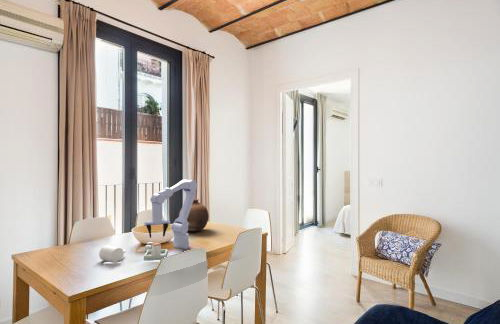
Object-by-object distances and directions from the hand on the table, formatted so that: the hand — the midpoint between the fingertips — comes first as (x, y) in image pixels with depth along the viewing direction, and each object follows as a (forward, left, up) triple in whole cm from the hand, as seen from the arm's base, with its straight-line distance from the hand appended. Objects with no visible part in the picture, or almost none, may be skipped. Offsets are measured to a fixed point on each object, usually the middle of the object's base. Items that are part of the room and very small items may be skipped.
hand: (157, 236), depth 176 cm
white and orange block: (0, +5, -10) cm, 11 cm away
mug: (+22, +8, -11) cm, 25 cm away
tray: (0, +5, -10) cm, 11 cm away
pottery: (-20, -56, -11) cm, 61 cm away
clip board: (+6, -7, -10) cm, 14 cm away
